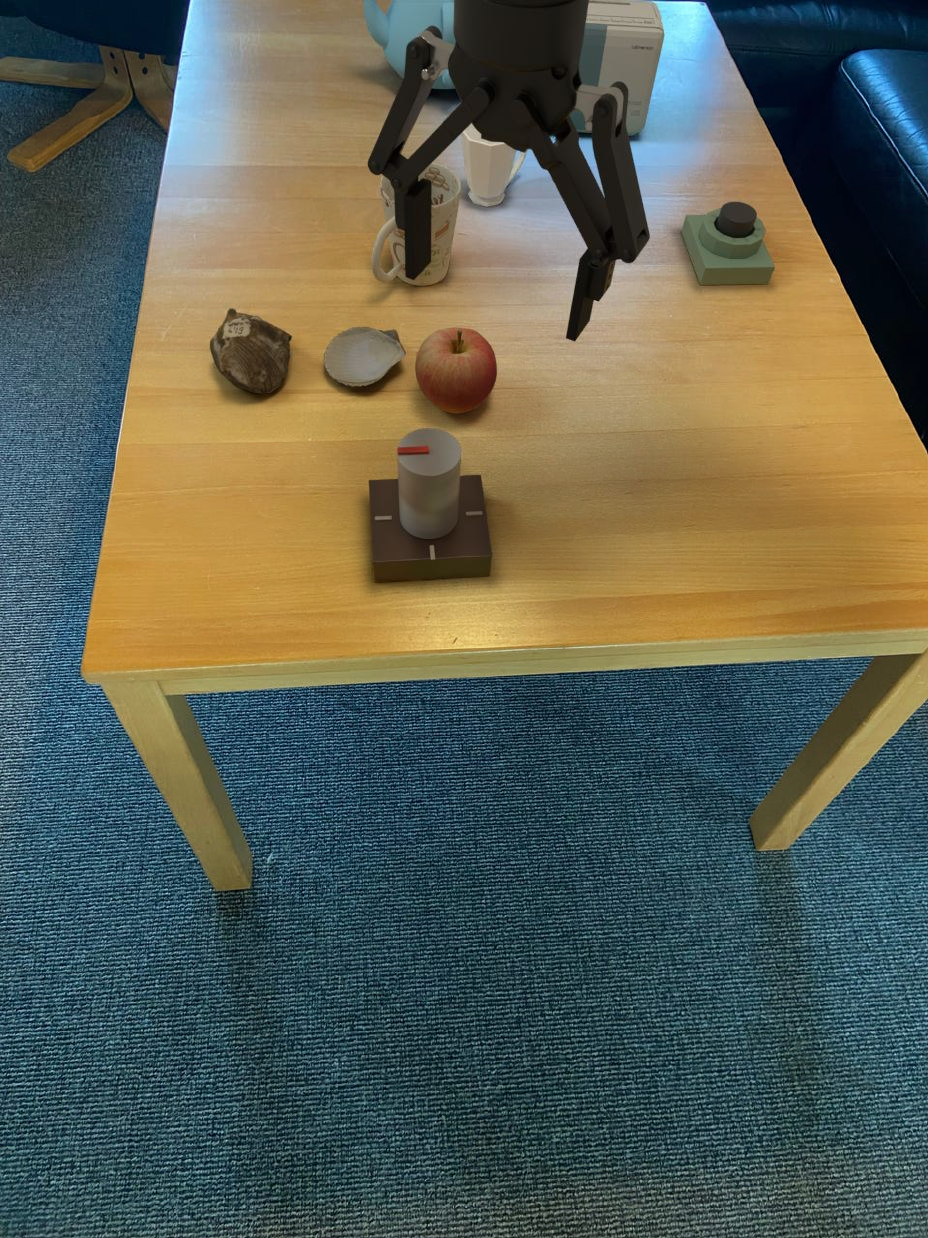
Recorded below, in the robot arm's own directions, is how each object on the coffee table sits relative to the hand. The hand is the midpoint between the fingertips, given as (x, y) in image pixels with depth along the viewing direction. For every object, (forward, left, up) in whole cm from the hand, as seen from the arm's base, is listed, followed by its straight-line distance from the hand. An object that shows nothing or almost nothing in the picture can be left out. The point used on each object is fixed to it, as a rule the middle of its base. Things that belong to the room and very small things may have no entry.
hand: (496, 299), depth 63 cm
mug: (+18, -22, -18) cm, 34 cm away
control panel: (+1, +10, -18) cm, 21 cm away
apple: (+6, -7, -18) cm, 21 cm away
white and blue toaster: (+14, -61, -18) cm, 65 cm away
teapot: (+33, -64, -18) cm, 74 cm away
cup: (+16, -42, -18) cm, 49 cm away
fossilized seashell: (+26, -2, -18) cm, 32 cm away
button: (-13, -42, -15) cm, 46 cm away
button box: (-13, -42, -18) cm, 48 cm away
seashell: (+16, -7, -18) cm, 25 cm away
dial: (+1, +10, -15) cm, 18 cm away
